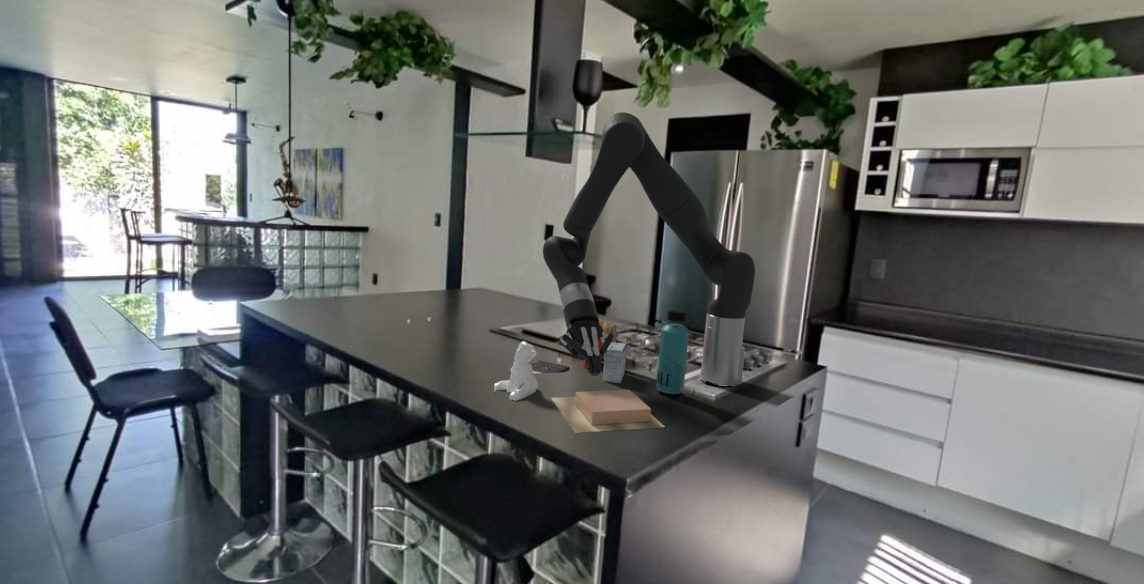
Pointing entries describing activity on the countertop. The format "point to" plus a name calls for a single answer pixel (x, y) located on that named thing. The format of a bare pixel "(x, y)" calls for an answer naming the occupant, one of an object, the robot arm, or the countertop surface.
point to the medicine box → (614, 363)
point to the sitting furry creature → (520, 374)
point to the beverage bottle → (672, 355)
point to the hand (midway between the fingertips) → (596, 374)
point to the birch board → (583, 424)
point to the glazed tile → (612, 407)
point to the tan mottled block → (610, 331)
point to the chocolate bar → (547, 367)
